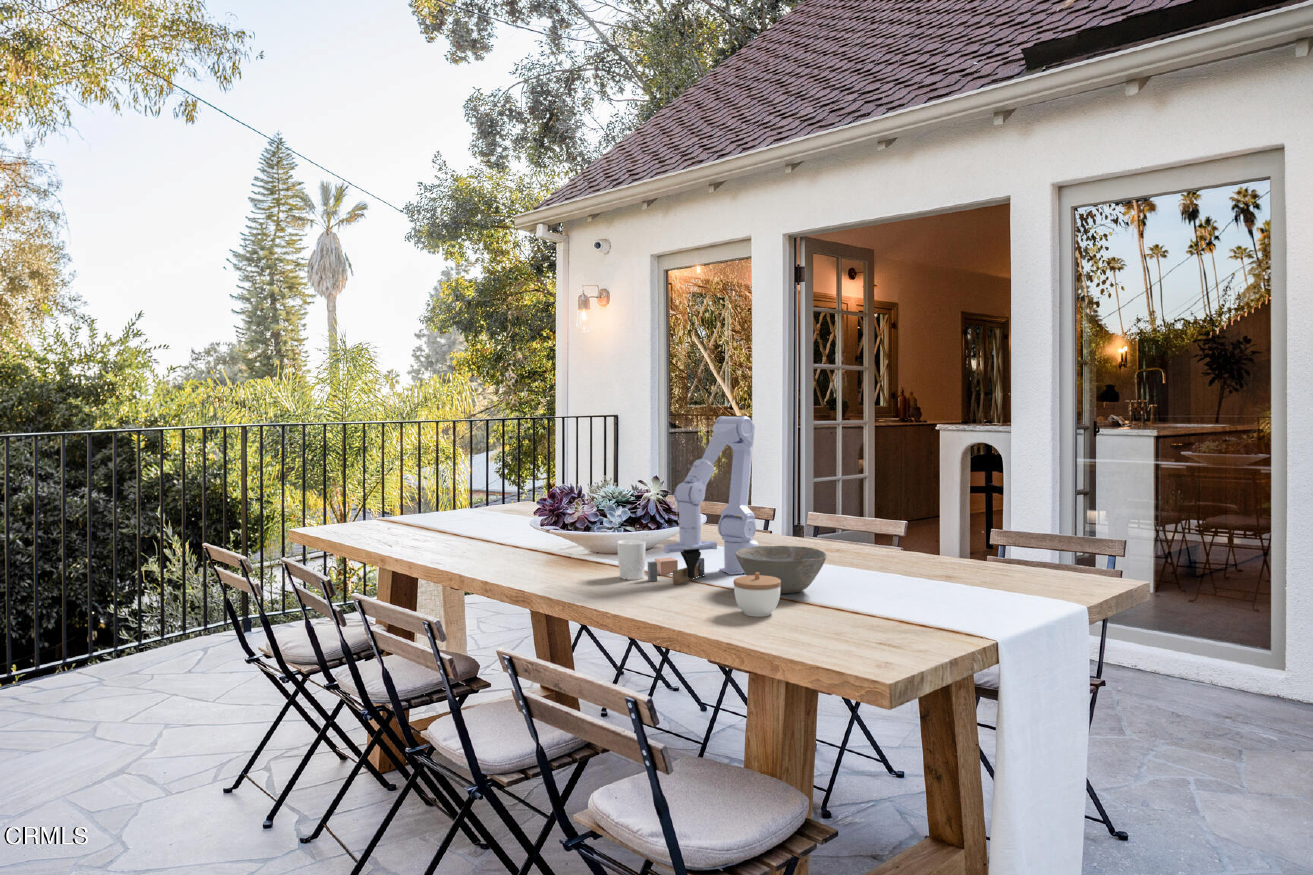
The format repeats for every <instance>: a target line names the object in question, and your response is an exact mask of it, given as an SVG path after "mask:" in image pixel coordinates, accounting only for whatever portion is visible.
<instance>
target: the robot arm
mask: <svg viewBox="0 0 1313 875" xmlns="http://www.w3.org/2000/svg"><path fill="white" fill-rule="evenodd" d="M755 429H756V428H755V423H753V421H752V419H751V418H750V417H749V416H748V415H747V416H746V415H743V416H723V415H721V416H719V417H717V419H716V421H715V423H714V425H713V426H712V432H713V433H712V434H713V435H712V436H711V439H710V440H709V442H708V444H707V447H706V449H705V451H704V453H703V455H702V458H700V459H697V460H695V461H694V462H693V464H692V467H691V468H690V471H689V472H688V473H687V475H686V477H685V478H684V481H683V482H681V483H679V484H677V486H676V487H675V489H674V493H673V497H674V500H675V502H676V507H677V510H678V517H679V518H678V521H679V522H678V524H679V525H678V528H679V530H678V531H679V542H675V543H671V544H664V545H663V553H664V554H670V553H679V552H680V555H681V556H682V559H683V561H684V562H685V566H686V567H687V569H688V577H689V578H691V579H692V578H694V576H695V573H694V571H695V567H696V564H697V562H698V560H699V558H701V556H702V552H701V551H704V550H717V549H718V542H717V541H715V540H712V541H710V540H707V541H702V524H701V522H702V521H701V520H702V519H701V504H702V502H703V501H704V500H705V499H706V498H705V497H706V490H707V485H708V483H709V481H710V480H711V477H712V476H713V474H714V472H715V468H714V464H715V462H716V461H717V459H719V457H720V455H721V453H723V450H724V449H725V448H726V446H727V445H728V446H729V447H730V448H731V450H732V451H733V454H732V463H731V464H732V465H731V475H730V485H729V486H730V487H729V497H728V505H727V506H725V507H724V509H722V511H721V512H720V518H719V520H718V523H717V532H718V534H719V535H720V537H721V539H722V540H723V549H724V550H723V551H724V552H723V553H724V556H723V557H724V563H723V564H724V565H723V566H724V567H719V568H718V569H719V571H722V572H723V573H725V572H726V573H725V574H727V573H728V575H733V576H734V575H741V574H743V573H744V574H746V573H745V572H744V570H743V569H742V567H741V565H740V563H739V562H738V559H737V557H736V555H735V552H736V551H737V550H740V549H743V548H750V547H757V546H759V544H758V541H757V540H755V539H753V538H754V536H755V535H756V532H757V531H756V530H757V525H756V521H755V518H756V515H755V514H754V512H753V511H752V510H751V509H750V508H749V505H748V504H749V494H750V483H751V482H750V481H751V473H752V460H753V453H754V452H753V450H754V441H755V440H754V438H755ZM737 516H738V517H737Z"/></svg>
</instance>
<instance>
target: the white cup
mask: <svg viewBox="0 0 1313 875" xmlns="http://www.w3.org/2000/svg"><path fill="white" fill-rule="evenodd" d="M616 544H617V545H616V546H617V560H618V568H619V569H618V570H619V578H620V579H621V578H622V579H621V580H625V579H627V581H638V580H641V579H644V578H645V568H646V544H647V542H646V540H644V539H621V540H618V541H617V542H616Z"/></svg>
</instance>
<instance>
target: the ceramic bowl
mask: <svg viewBox="0 0 1313 875" xmlns="http://www.w3.org/2000/svg"><path fill="white" fill-rule="evenodd" d="M735 555H736V557H737V559H738V562H739V563H740V565H741V567H742V569H743V570H744V572H745V573H744V574H745V576H749V575H755V573H756V572H758V573H759V575H764V576H772V577H776V578H779V579H780V580H781V585H780V595H782V594H795V593H800V592H802V591H805V590H806V589H808V587H810V586H811V584H812V583H813V582H814V580H815V579H816V577H817V576H818V574H819V572H820V571H821V570H822V568H823V566H824V564H825V561H826V559H827V553H826V552H825V551H822V550H820V549H818V548H814V547H808V546H800V545H799V546H795V545H794V546H792V545H791V546H790V545H758V546H757V547H750V548H743V549H740V550H737V551H736V552H735Z"/></svg>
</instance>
